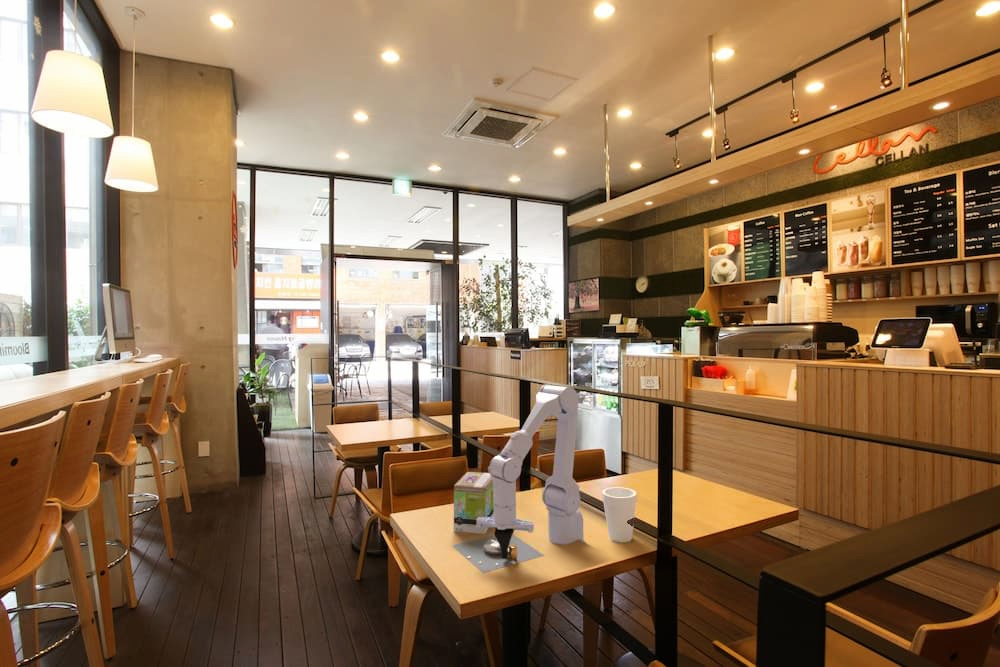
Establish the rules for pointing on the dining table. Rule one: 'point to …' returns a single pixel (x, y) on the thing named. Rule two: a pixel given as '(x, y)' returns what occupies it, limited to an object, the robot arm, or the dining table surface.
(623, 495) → the foam cup
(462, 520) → the tea box
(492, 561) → the panel
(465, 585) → the dining table surface
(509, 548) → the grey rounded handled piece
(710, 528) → the dining table surface
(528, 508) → the dining table surface
